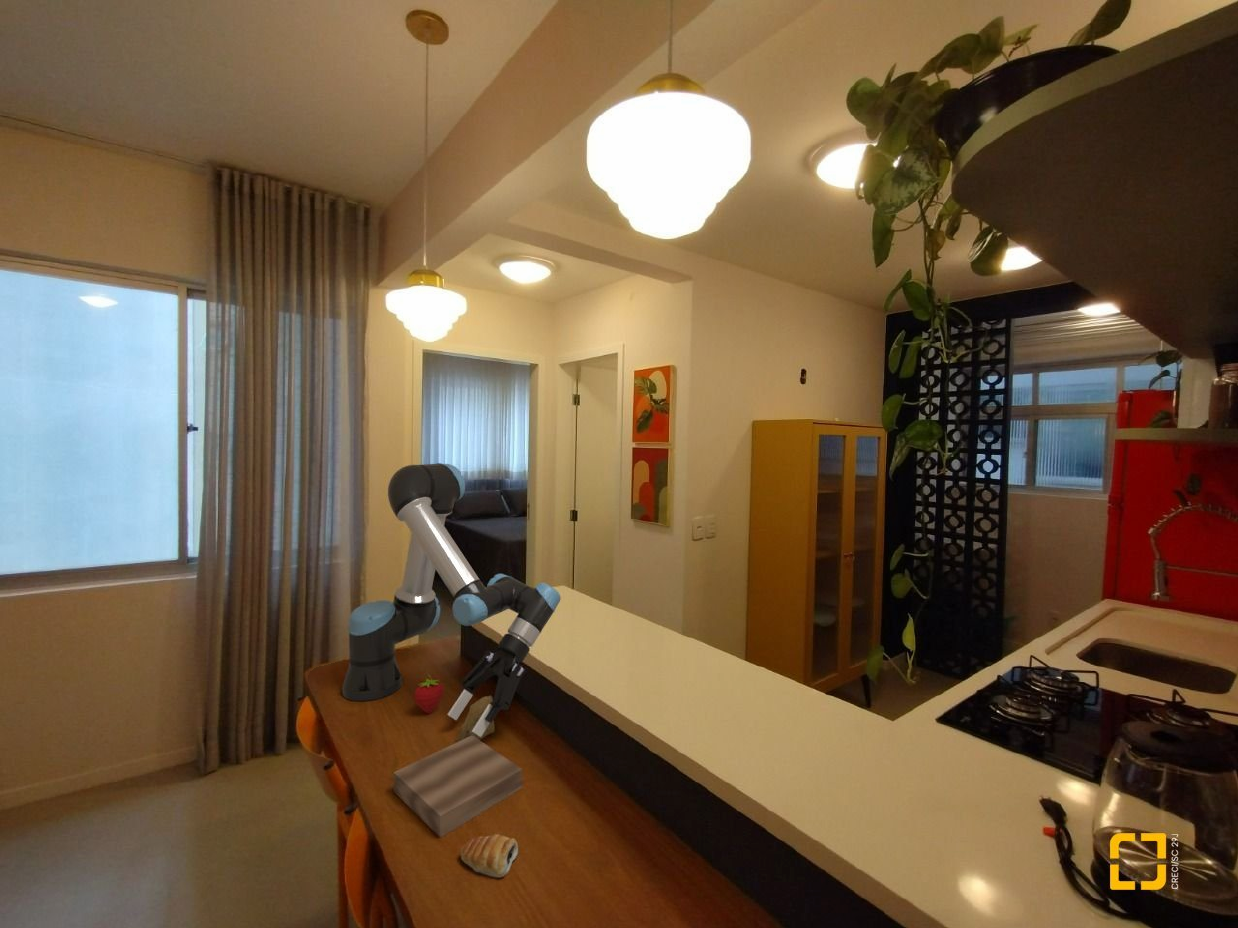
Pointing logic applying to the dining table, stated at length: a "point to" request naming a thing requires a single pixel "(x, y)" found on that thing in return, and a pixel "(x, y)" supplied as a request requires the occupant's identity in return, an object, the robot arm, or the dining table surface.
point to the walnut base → (457, 784)
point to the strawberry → (428, 695)
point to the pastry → (490, 854)
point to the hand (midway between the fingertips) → (463, 725)
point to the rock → (476, 719)
